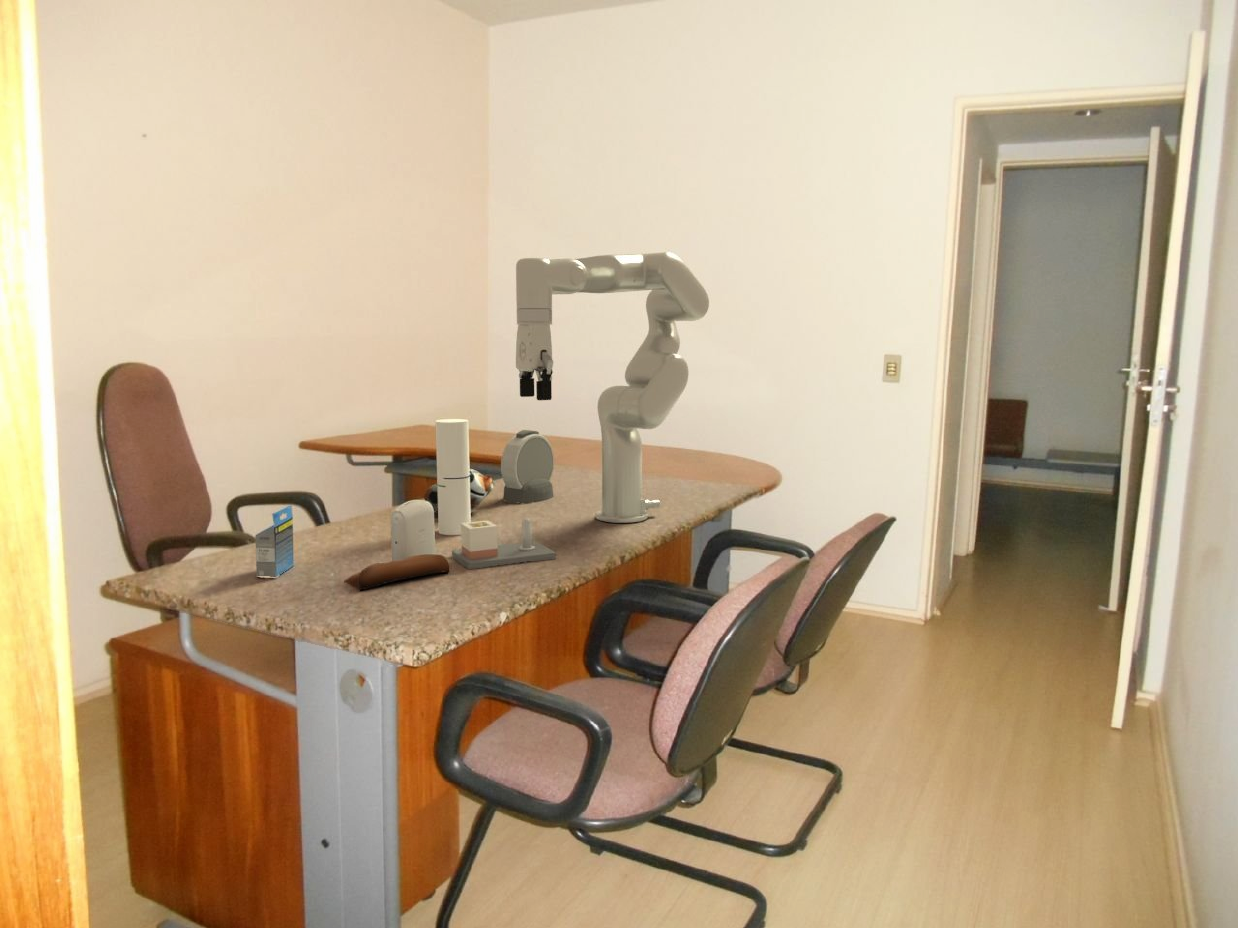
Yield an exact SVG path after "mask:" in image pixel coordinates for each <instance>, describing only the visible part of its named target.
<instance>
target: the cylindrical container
mask: <svg viewBox="0 0 1238 928" xmlns="http://www.w3.org/2000/svg"><path fill="white" fill-rule="evenodd" d="M469 424H470V423H469V419H465V418H463V419H462V418H447V419H446V418H444V419H443V418H442V419H437V420H435V445H436V447H435V449H436V450H435V451H436V480H437V481H436V482H437V483H436V484H438V485H437V489H438V513H437V517H438V519H437V520H438V534H440V535H444V536H461V523H468V522H472V520H471V519H472V517H471V509H470V476H469V475H470V469H471V468H470V466H471V465H470V436H469V435H470V430H469V427H470V426H469Z"/></svg>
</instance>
